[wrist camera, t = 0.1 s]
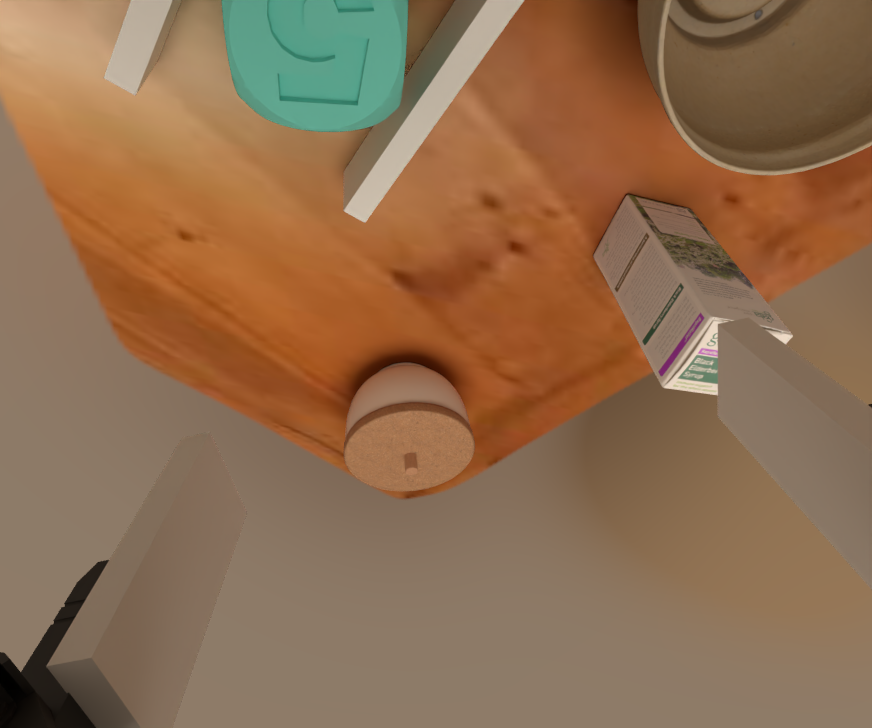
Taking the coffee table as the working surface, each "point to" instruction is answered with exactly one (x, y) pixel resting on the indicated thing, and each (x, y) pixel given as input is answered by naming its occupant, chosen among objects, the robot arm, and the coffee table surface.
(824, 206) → the coffee table surface
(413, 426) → the lidded jar
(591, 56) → the coffee table surface
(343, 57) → the decorative dice
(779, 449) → the robot arm
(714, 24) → the planter bowl
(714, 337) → the syrup box
